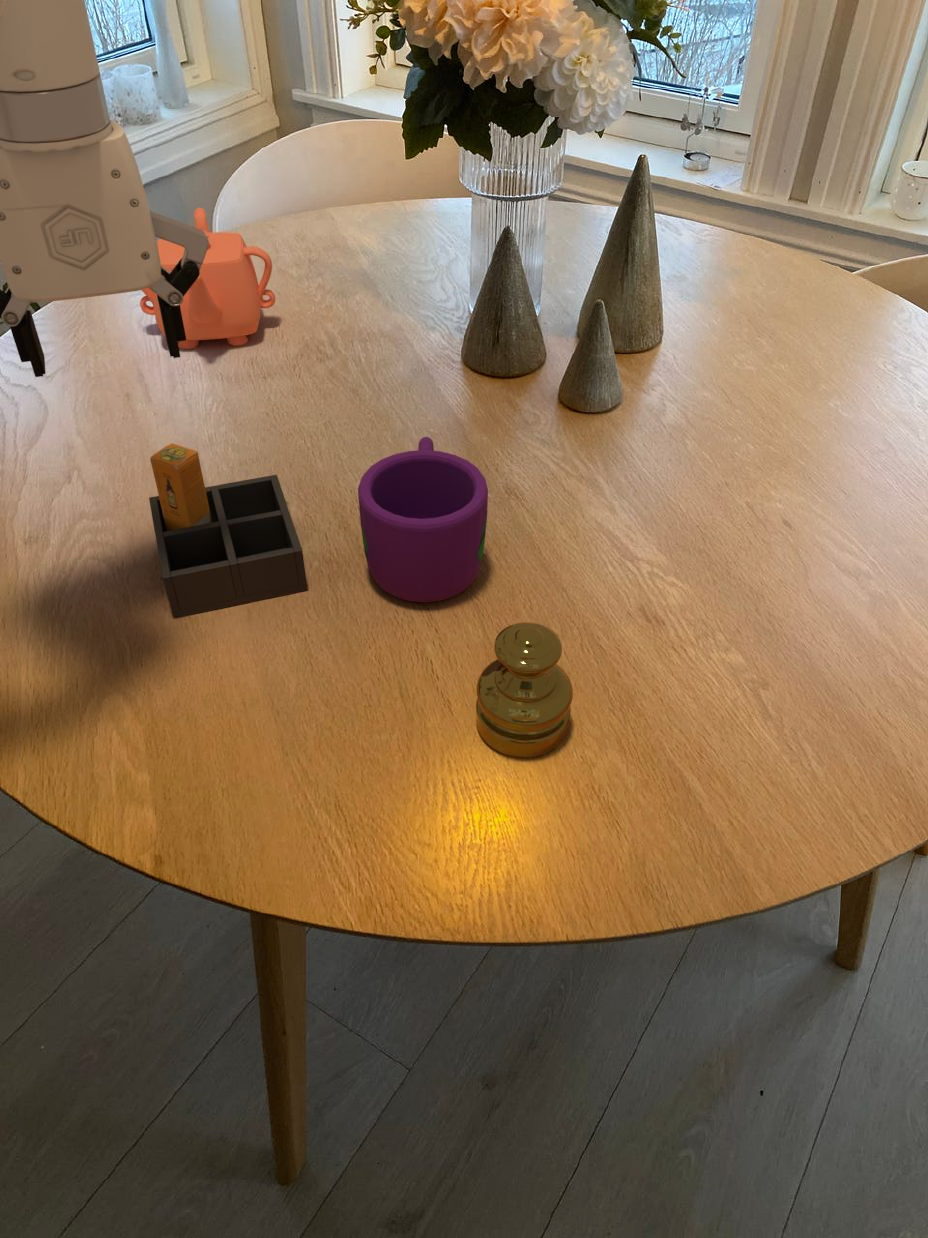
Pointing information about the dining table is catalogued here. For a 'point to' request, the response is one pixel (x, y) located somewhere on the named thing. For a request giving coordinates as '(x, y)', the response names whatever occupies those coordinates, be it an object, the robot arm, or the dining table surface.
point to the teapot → (217, 289)
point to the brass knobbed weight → (524, 692)
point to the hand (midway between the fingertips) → (108, 358)
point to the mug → (423, 523)
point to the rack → (231, 549)
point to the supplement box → (180, 487)
